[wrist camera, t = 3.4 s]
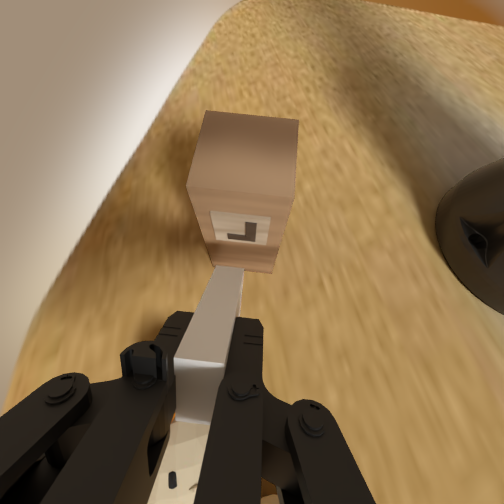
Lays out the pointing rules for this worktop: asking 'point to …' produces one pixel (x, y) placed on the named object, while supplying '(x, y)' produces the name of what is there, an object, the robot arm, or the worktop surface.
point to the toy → (184, 466)
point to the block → (243, 187)
